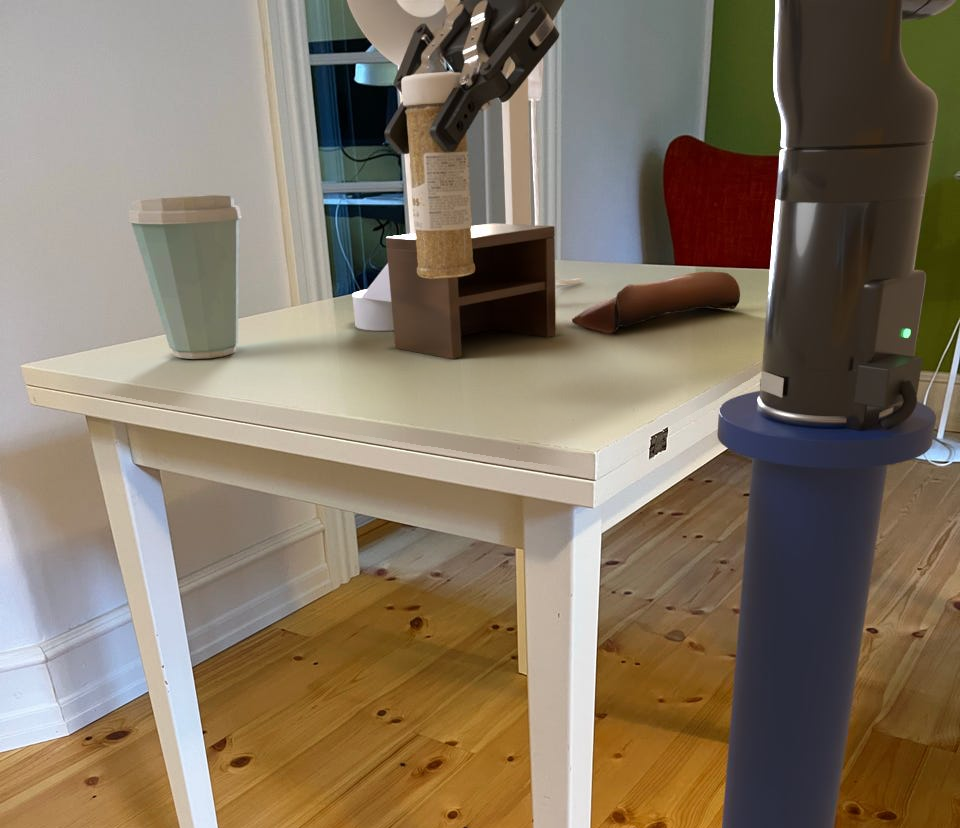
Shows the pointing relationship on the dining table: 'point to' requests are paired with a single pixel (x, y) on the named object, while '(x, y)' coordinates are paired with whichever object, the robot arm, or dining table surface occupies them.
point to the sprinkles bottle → (437, 182)
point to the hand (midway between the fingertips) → (417, 143)
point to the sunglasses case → (661, 300)
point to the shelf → (475, 290)
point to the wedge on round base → (374, 305)
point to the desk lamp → (390, 26)
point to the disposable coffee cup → (192, 269)
